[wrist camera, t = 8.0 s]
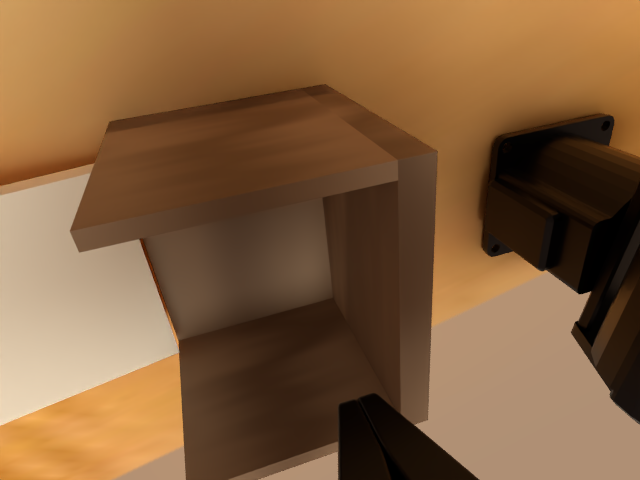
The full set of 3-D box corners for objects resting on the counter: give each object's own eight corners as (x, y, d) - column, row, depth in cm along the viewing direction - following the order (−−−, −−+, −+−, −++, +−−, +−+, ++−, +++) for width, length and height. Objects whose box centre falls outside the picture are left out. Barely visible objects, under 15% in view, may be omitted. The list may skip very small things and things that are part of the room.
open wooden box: (325, 84, 18) (437, 151, 10) (343, 283, 22) (427, 420, 15) (109, 121, 16) (69, 231, 9) (180, 327, 21) (190, 503, 14)
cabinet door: (113, 167, 14) (-160, 235, 12) (179, 352, 18) (-13, 430, 16) (109, 157, 15) (-144, 217, 13) (173, 334, 19) (-9, 406, 17)
